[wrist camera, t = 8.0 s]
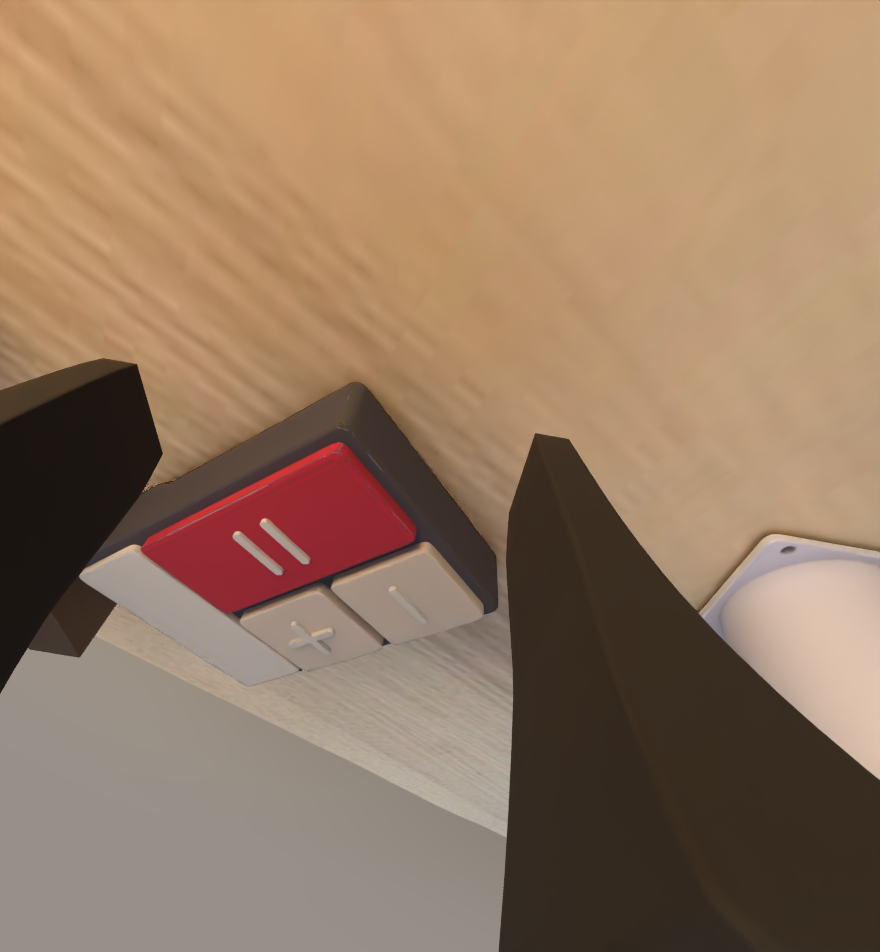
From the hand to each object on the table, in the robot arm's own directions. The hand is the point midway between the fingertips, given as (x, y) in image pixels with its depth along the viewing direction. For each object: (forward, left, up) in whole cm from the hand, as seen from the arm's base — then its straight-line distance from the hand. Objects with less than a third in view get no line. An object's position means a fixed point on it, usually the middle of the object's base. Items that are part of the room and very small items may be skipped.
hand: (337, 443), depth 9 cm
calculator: (+4, +12, -8) cm, 16 cm away
